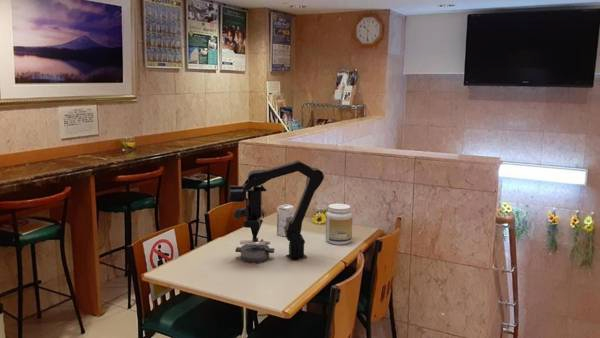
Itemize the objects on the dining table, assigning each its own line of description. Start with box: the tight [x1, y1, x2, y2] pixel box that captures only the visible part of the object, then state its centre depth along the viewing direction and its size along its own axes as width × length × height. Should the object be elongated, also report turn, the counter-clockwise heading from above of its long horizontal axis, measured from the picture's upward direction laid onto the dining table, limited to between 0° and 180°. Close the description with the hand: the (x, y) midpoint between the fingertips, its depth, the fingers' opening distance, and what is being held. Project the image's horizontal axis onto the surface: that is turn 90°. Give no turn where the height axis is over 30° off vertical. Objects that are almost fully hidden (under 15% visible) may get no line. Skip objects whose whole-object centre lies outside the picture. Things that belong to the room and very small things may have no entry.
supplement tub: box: [325, 203, 353, 246], centre depth 231 cm, size 12×12×17 cm
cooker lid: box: [239, 236, 271, 246], centre depth 208 cm, size 13×13×3 cm
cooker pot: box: [235, 244, 275, 264], centre depth 209 cm, size 13×14×4 cm
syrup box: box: [276, 203, 295, 238], centre depth 240 cm, size 6×6×14 cm
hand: (254, 238), depth 207 cm, fingers closed
